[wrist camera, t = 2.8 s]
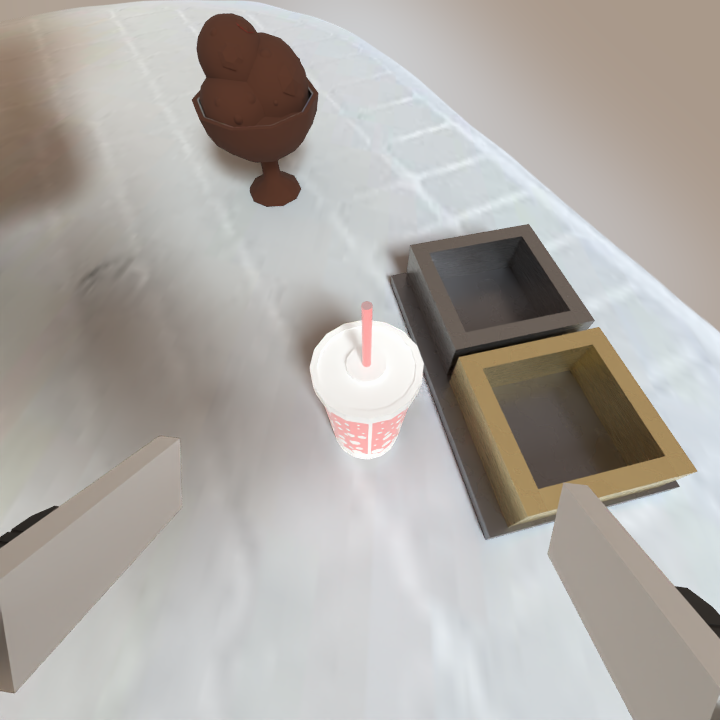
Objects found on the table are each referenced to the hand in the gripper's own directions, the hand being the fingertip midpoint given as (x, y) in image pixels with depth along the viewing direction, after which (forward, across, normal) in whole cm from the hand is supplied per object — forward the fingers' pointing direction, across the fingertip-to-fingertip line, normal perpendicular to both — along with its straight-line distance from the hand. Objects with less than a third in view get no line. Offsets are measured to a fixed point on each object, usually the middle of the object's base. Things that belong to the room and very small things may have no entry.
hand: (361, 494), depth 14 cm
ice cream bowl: (+33, -14, +15) cm, 39 cm away
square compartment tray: (+19, +10, 0) cm, 22 cm away
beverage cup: (+15, -1, -4) cm, 16 cm away
